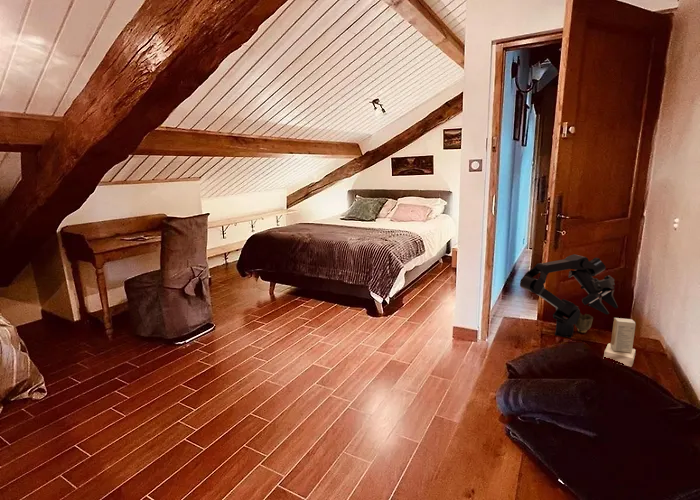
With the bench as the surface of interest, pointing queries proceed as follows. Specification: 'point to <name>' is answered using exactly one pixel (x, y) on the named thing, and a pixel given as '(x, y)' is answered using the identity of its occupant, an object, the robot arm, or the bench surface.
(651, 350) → the bench surface
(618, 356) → the birch block
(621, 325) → the skincare box
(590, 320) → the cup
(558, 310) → the robot arm
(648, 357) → the bench surface
